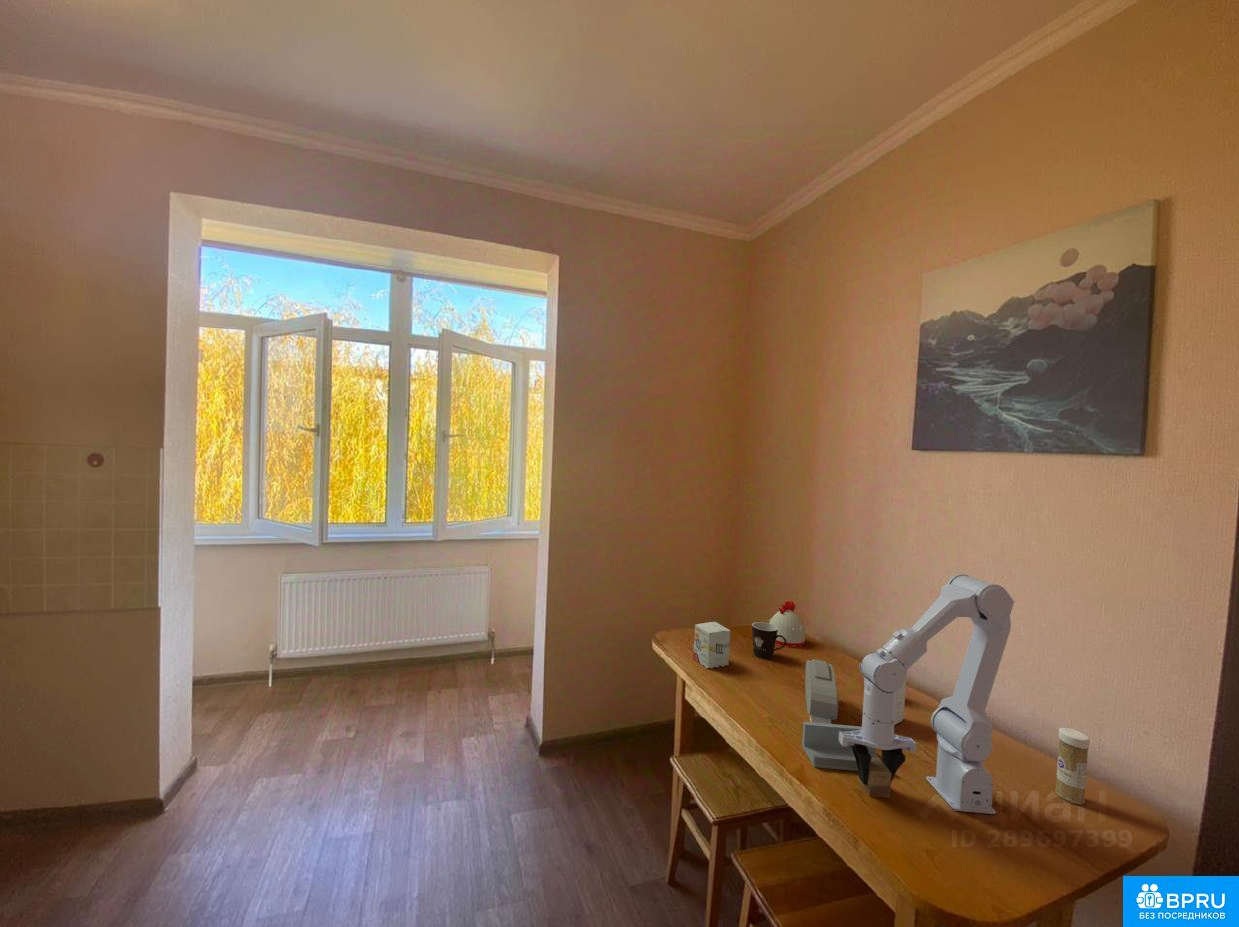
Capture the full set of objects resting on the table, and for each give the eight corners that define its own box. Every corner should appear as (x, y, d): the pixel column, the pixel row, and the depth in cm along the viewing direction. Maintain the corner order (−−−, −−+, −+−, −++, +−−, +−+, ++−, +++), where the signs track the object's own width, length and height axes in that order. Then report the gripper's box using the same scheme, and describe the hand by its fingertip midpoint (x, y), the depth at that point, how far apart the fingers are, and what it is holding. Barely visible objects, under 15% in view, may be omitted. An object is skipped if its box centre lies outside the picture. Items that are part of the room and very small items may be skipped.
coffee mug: (745, 651, 165) (747, 622, 165) (766, 649, 168) (768, 621, 168) (765, 665, 154) (766, 634, 154) (787, 663, 157) (788, 633, 157)
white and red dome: (812, 644, 176) (815, 604, 176) (787, 650, 169) (790, 608, 169) (782, 631, 188) (785, 594, 188) (758, 636, 181) (760, 597, 181)
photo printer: (889, 712, 128) (892, 667, 128) (906, 720, 124) (908, 674, 124) (868, 722, 122) (871, 675, 122) (885, 731, 118) (888, 682, 118)
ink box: (692, 658, 156) (694, 623, 156) (713, 655, 160) (715, 620, 160) (707, 669, 148) (709, 632, 148) (729, 666, 152) (731, 629, 152)
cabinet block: (890, 798, 93) (892, 773, 93) (870, 797, 93) (871, 771, 93) (878, 782, 98) (879, 758, 98) (858, 780, 98) (860, 756, 98)
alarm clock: (836, 738, 114) (839, 685, 114) (809, 731, 116) (812, 680, 116) (827, 695, 136) (829, 651, 136) (804, 690, 138) (806, 647, 138)
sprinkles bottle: (1049, 790, 99) (1052, 726, 99) (1068, 790, 99) (1072, 726, 99) (1072, 806, 94) (1076, 739, 94) (1092, 805, 95) (1096, 739, 95)
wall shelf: (889, 773, 101) (891, 747, 101) (814, 766, 102) (815, 741, 102) (872, 751, 109) (873, 727, 109) (802, 745, 110) (803, 721, 110)
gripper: (904, 708, 99) (900, 772, 99) (834, 702, 100) (830, 766, 100) (924, 727, 92) (919, 796, 92) (848, 720, 93) (844, 789, 93)
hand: (874, 782), depth 96 cm, fingers closed on cabinet block, 4 cm apart
